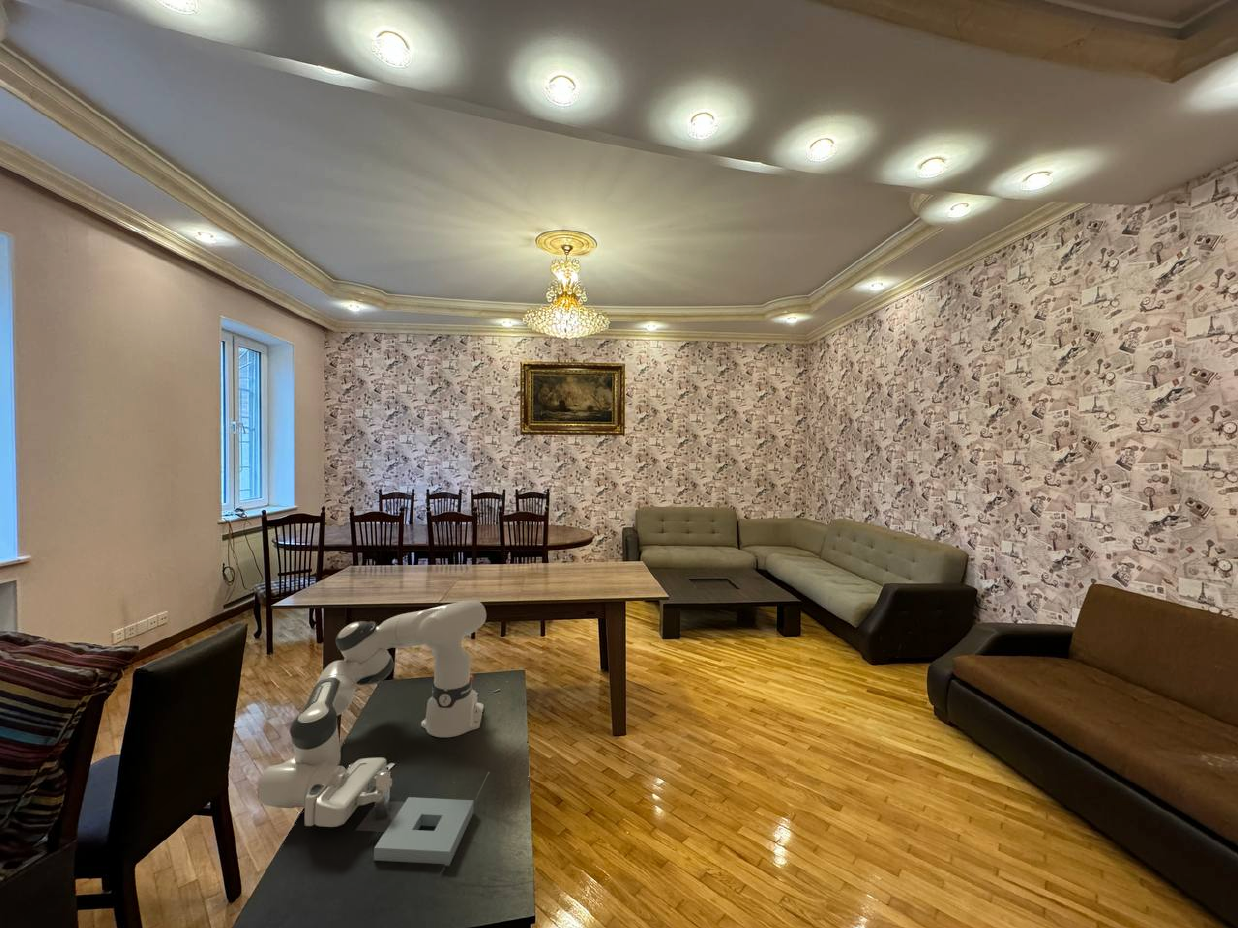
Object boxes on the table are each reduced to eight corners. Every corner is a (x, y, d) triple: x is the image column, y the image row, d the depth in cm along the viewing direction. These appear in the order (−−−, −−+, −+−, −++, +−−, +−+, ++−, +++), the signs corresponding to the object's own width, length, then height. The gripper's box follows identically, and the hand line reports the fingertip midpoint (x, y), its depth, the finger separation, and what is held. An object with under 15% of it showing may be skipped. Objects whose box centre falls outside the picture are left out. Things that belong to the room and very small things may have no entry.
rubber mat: (377, 802, 121) (377, 800, 121) (405, 803, 121) (405, 801, 121) (355, 831, 111) (355, 829, 111) (385, 833, 111) (385, 831, 111)
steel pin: (378, 810, 118) (380, 768, 118) (390, 811, 118) (392, 769, 118) (372, 819, 115) (373, 776, 115) (384, 820, 115) (386, 777, 115)
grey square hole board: (408, 809, 119) (408, 796, 119) (473, 812, 119) (473, 800, 119) (373, 861, 103) (374, 847, 103) (448, 865, 103) (449, 851, 103)
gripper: (353, 773, 127) (405, 776, 127) (300, 831, 106) (362, 834, 106) (354, 749, 127) (406, 751, 127) (301, 802, 107) (364, 805, 106)
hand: (386, 789), depth 116 cm, fingers closed on steel pin, 3 cm apart
